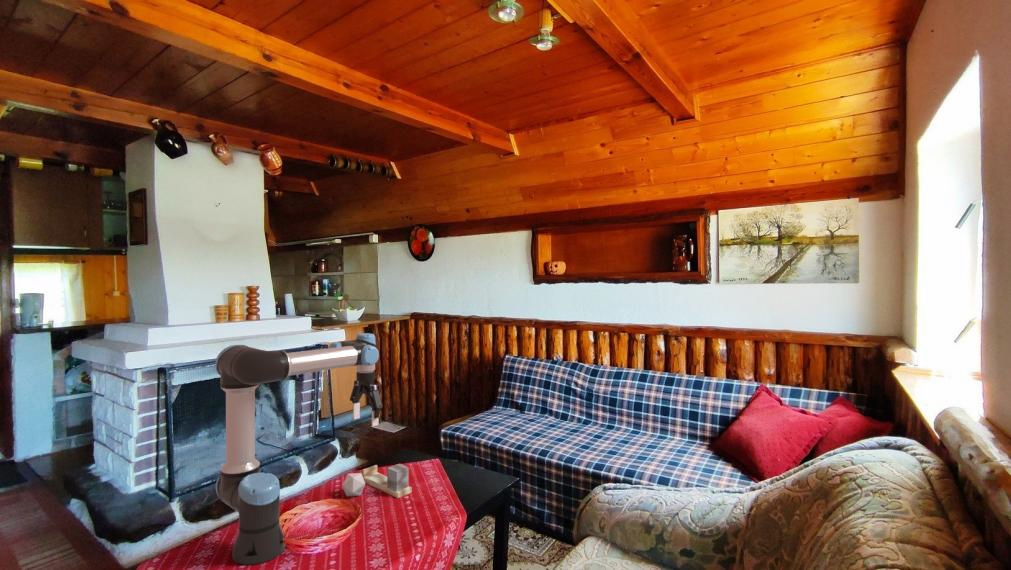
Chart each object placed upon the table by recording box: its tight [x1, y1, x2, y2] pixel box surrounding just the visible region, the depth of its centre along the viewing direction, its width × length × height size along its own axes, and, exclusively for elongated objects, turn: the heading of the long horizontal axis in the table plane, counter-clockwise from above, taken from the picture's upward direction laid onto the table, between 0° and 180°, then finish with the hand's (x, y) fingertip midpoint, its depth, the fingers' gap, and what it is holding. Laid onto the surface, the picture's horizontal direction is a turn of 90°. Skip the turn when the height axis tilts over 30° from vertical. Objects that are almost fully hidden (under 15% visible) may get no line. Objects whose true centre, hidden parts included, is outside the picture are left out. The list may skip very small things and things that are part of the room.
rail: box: [361, 463, 413, 499], centre depth 207 cm, size 7×24×10 cm, turn 51°
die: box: [341, 472, 366, 498], centre depth 199 cm, size 8×9×10 cm
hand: (365, 422), depth 204 cm, fingers open, 13 cm apart
